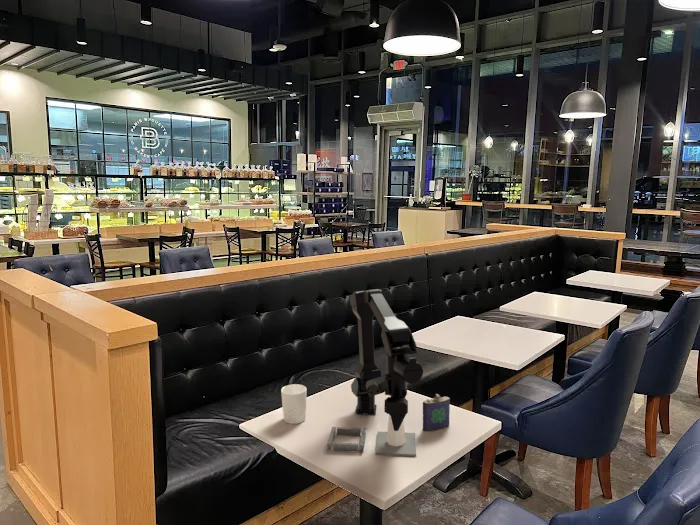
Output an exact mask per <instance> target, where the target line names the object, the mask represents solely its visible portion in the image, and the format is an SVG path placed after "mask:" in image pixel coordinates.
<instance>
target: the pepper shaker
mask: <svg viewBox="0 0 700 525" xmlns="http://www.w3.org/2000/svg"><path fill="white" fill-rule="evenodd" d="M387 422H388V423H387V431H386V432H387V439H386V441H387V443H388V444H389V445H391V446H395V447H397V446H402V445H403V444H404V443H405V433H406V432H405V425H404V423H405V422H404V421H403V422H402V424H401V426H400V428H399V430H398V431H394V428H393V424H392V419H391V416H390V415H389V414H388V421H387Z"/></svg>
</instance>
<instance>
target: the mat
mask: <svg viewBox="0 0 700 525" xmlns="http://www.w3.org/2000/svg"><path fill="white" fill-rule="evenodd" d="M404 433H405V443H404V444H403V445H402V446H397V447H395V446H391V445H389V444H388V443H387V441H386V439H387V431H379V430H378V431H377V434H376V435H377V437H376V448H375V455H378V456H397V457H398V456H399V457H417V446H416V445H417V443H416V433H415V432H404Z"/></svg>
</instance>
